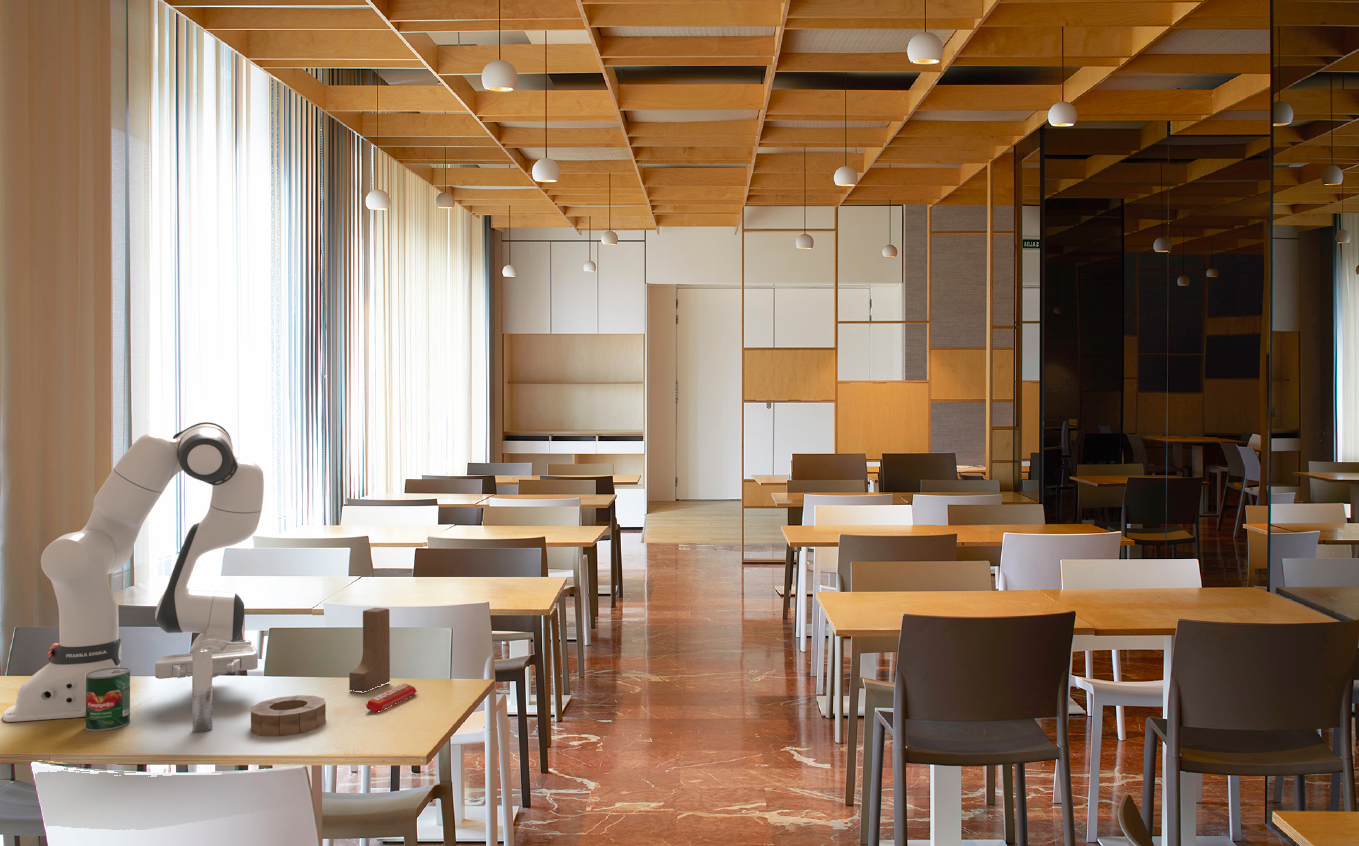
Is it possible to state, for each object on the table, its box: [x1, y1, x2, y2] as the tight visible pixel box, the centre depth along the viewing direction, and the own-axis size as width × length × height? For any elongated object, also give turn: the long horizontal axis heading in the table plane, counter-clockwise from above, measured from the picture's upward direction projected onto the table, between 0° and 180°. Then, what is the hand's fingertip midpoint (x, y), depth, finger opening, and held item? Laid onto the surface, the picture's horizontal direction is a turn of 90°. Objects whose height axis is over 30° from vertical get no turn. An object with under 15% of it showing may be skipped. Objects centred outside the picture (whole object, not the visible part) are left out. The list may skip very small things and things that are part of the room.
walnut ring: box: [250, 694, 327, 737], centre depth 189 cm, size 14×14×4 cm
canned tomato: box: [84, 666, 131, 732], centre depth 190 cm, size 8×8×11 cm
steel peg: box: [191, 649, 213, 734], centre depth 186 cm, size 4×4×16 cm
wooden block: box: [348, 607, 391, 692], centre depth 217 cm, size 9×4×18 cm, turn 157°
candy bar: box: [365, 683, 418, 713], centre depth 204 cm, size 16×4×3 cm, turn 163°
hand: (205, 671), depth 197 cm, fingers open, 8 cm apart
